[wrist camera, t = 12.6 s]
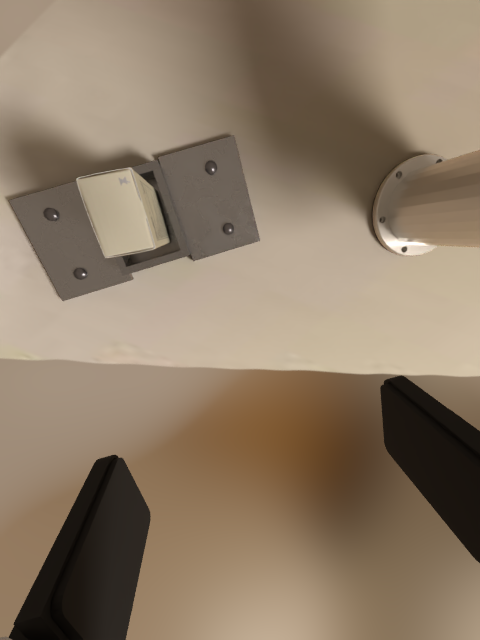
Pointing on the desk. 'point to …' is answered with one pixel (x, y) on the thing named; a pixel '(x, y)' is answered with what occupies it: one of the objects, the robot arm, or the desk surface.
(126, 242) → the skincare box
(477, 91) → the desk surface
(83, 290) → the hinge base
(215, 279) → the desk surface
